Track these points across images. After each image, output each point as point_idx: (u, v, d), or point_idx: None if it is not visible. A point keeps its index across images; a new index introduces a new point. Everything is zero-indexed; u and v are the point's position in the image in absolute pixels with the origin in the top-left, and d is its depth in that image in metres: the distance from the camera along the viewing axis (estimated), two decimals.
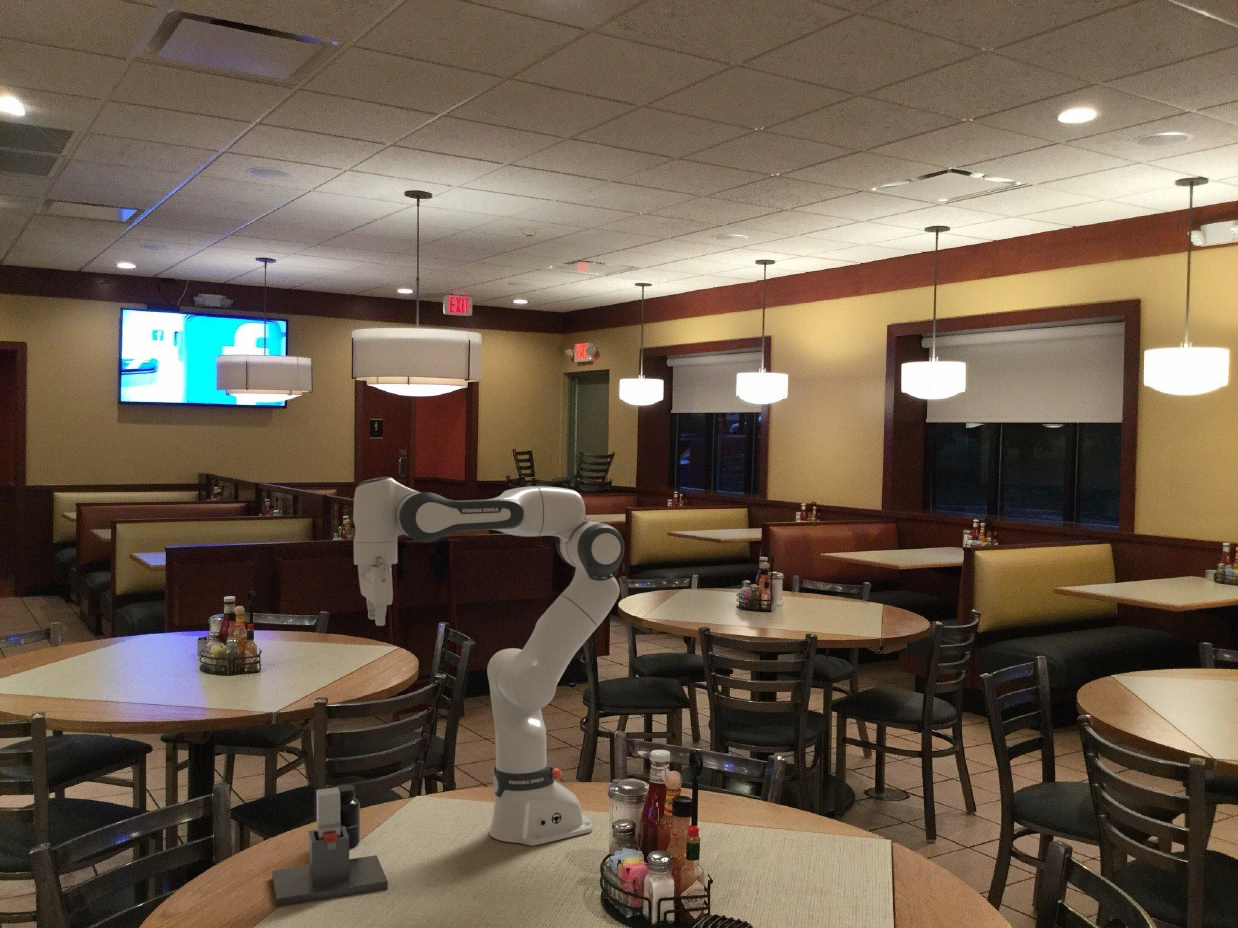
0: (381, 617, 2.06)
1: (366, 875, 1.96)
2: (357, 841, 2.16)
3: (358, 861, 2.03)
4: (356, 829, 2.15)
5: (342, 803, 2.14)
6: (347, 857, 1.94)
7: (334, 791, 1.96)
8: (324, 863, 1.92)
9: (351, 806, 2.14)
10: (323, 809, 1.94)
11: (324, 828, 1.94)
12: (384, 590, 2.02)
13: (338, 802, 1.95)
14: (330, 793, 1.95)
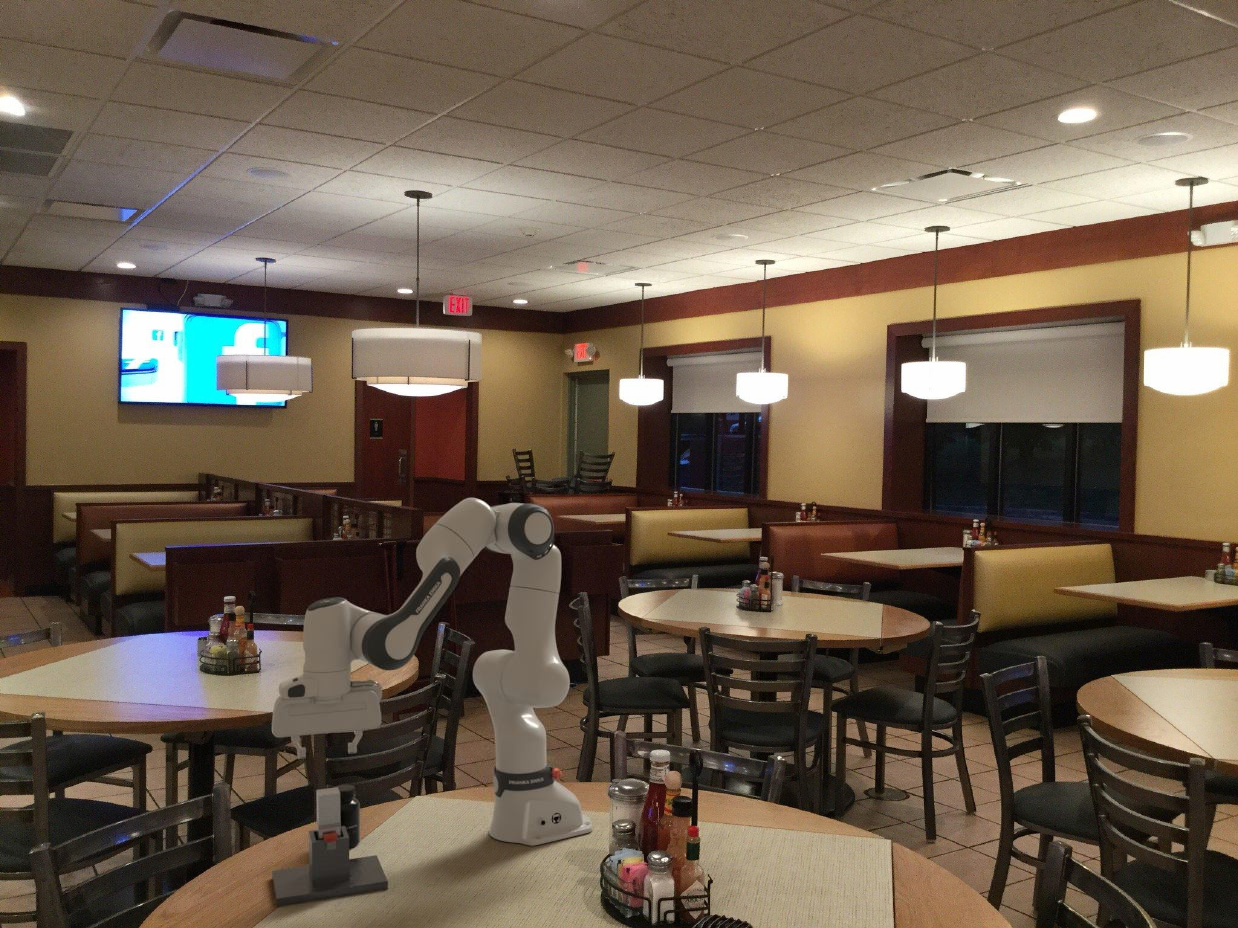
0: None
1: (366, 875, 1.96)
2: (357, 841, 2.16)
3: (358, 861, 2.03)
4: (356, 829, 2.15)
5: (342, 803, 2.14)
6: (347, 857, 1.94)
7: (334, 791, 1.96)
8: (324, 863, 1.92)
9: (351, 806, 2.14)
10: (323, 809, 1.94)
11: (324, 828, 1.94)
12: None
13: (338, 802, 1.95)
14: (330, 793, 1.95)
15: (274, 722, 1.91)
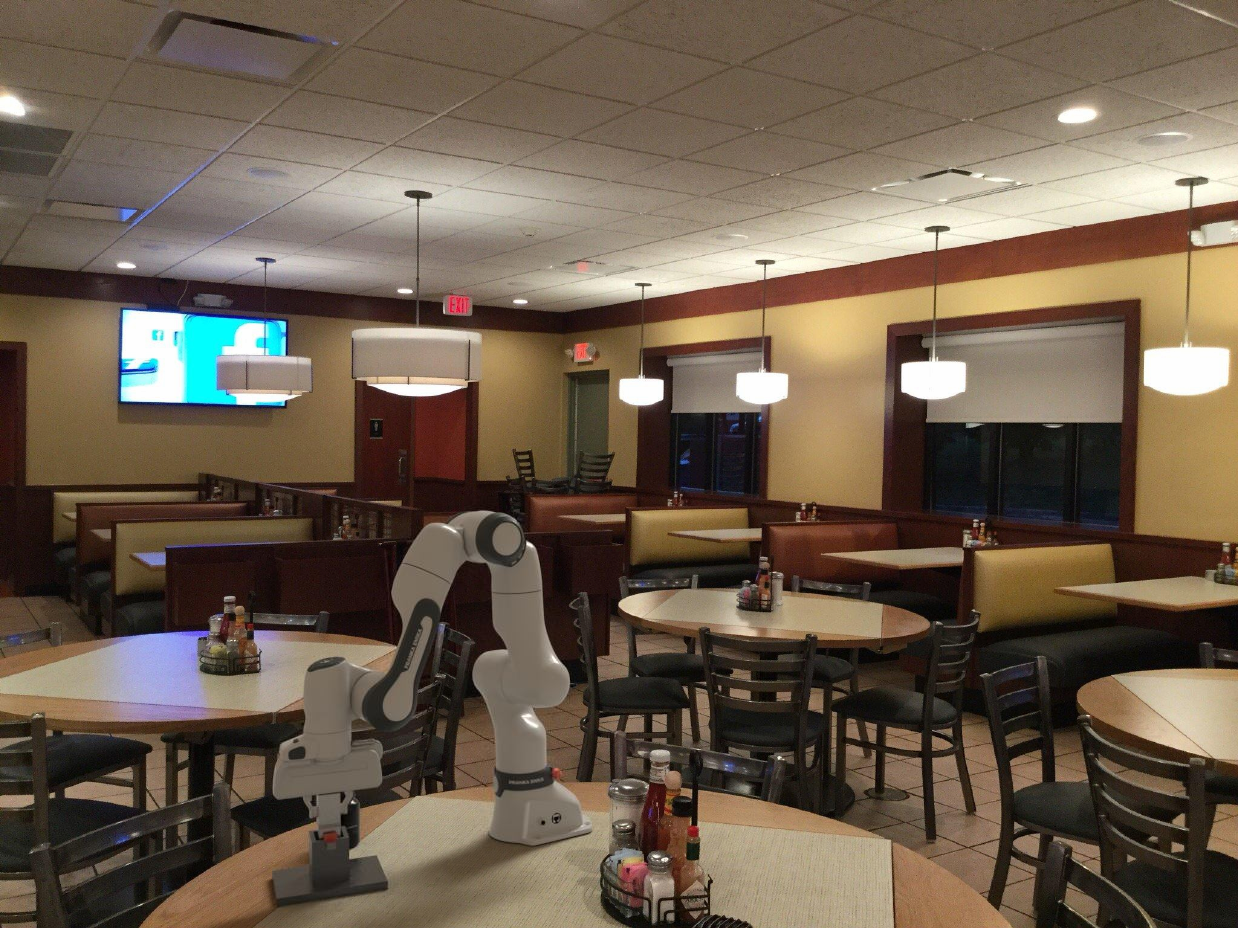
0: None
1: (366, 875, 1.96)
2: (357, 841, 2.16)
3: (358, 861, 2.03)
4: (356, 829, 2.15)
5: None
6: (347, 857, 1.94)
7: None
8: (324, 863, 1.92)
9: (351, 806, 2.14)
10: (323, 809, 1.94)
11: (324, 828, 1.94)
12: None
13: (338, 802, 1.95)
14: (330, 793, 1.95)
15: (275, 784, 1.91)
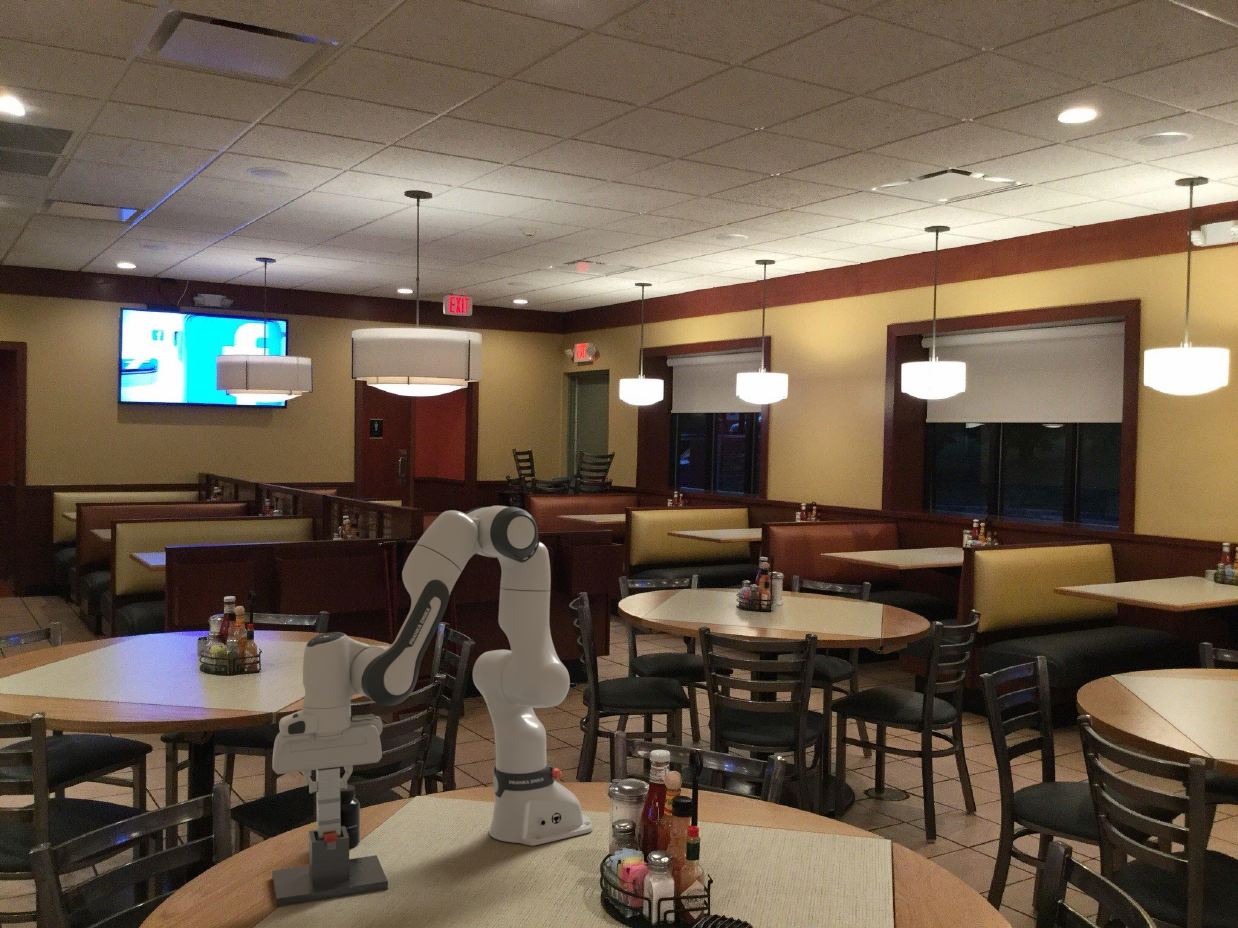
0: None
1: (366, 875, 1.96)
2: (357, 841, 2.16)
3: (358, 861, 2.03)
4: (356, 829, 2.15)
5: (342, 803, 2.14)
6: (347, 857, 1.94)
7: None
8: (324, 863, 1.92)
9: (351, 806, 2.14)
10: (323, 784, 1.94)
11: (324, 803, 1.94)
12: None
13: (338, 777, 1.95)
14: (330, 768, 1.95)
15: (275, 759, 1.91)
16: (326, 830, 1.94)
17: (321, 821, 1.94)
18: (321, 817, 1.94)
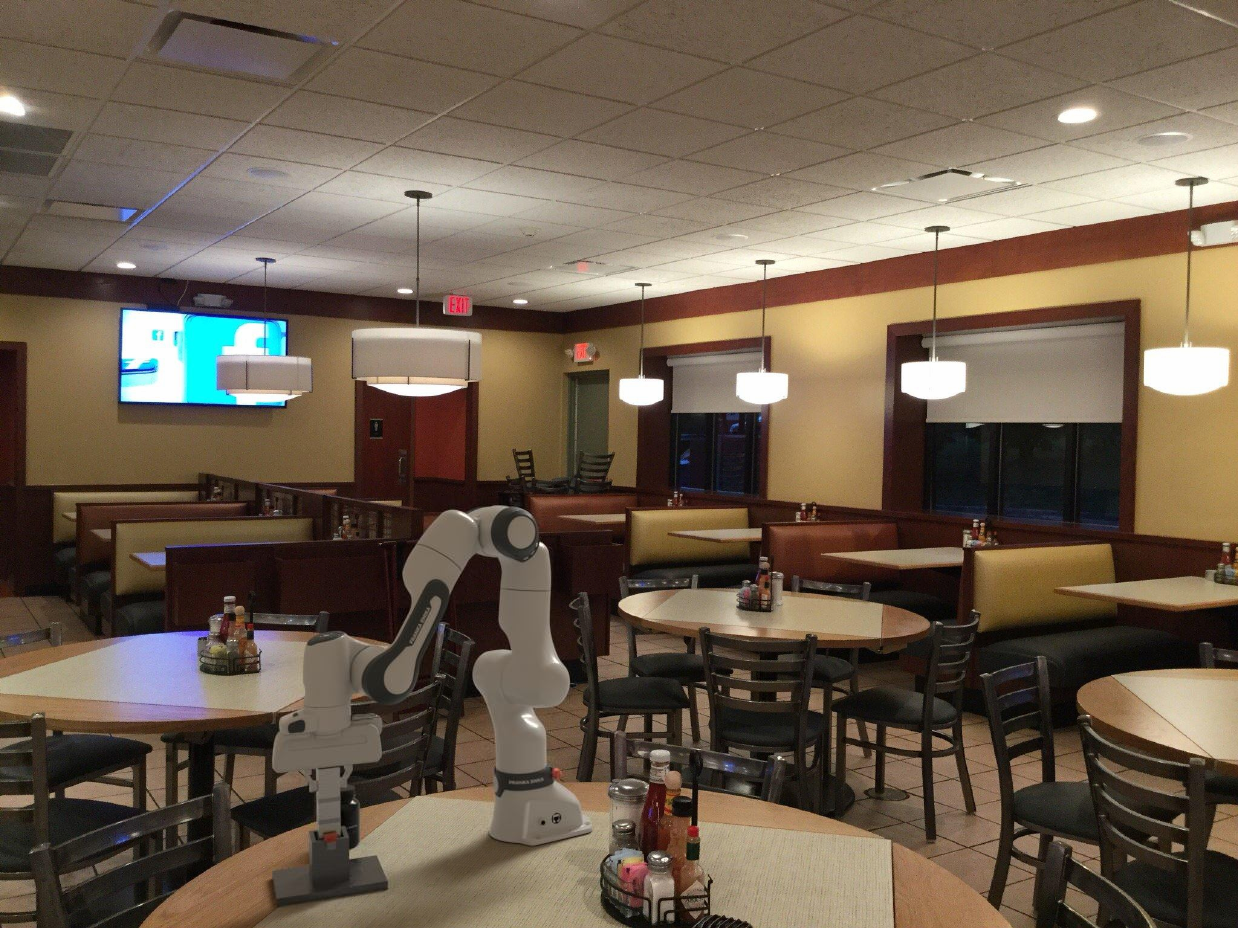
0: None
1: (366, 875, 1.96)
2: (357, 841, 2.16)
3: (358, 861, 2.03)
4: (356, 829, 2.15)
5: (342, 803, 2.14)
6: (347, 857, 1.94)
7: None
8: (324, 863, 1.92)
9: (351, 806, 2.14)
10: (323, 783, 1.94)
11: (324, 802, 1.94)
12: None
13: (338, 776, 1.95)
14: (330, 767, 1.95)
15: (274, 758, 1.91)
16: (326, 829, 1.94)
17: (321, 820, 1.94)
18: (321, 816, 1.94)
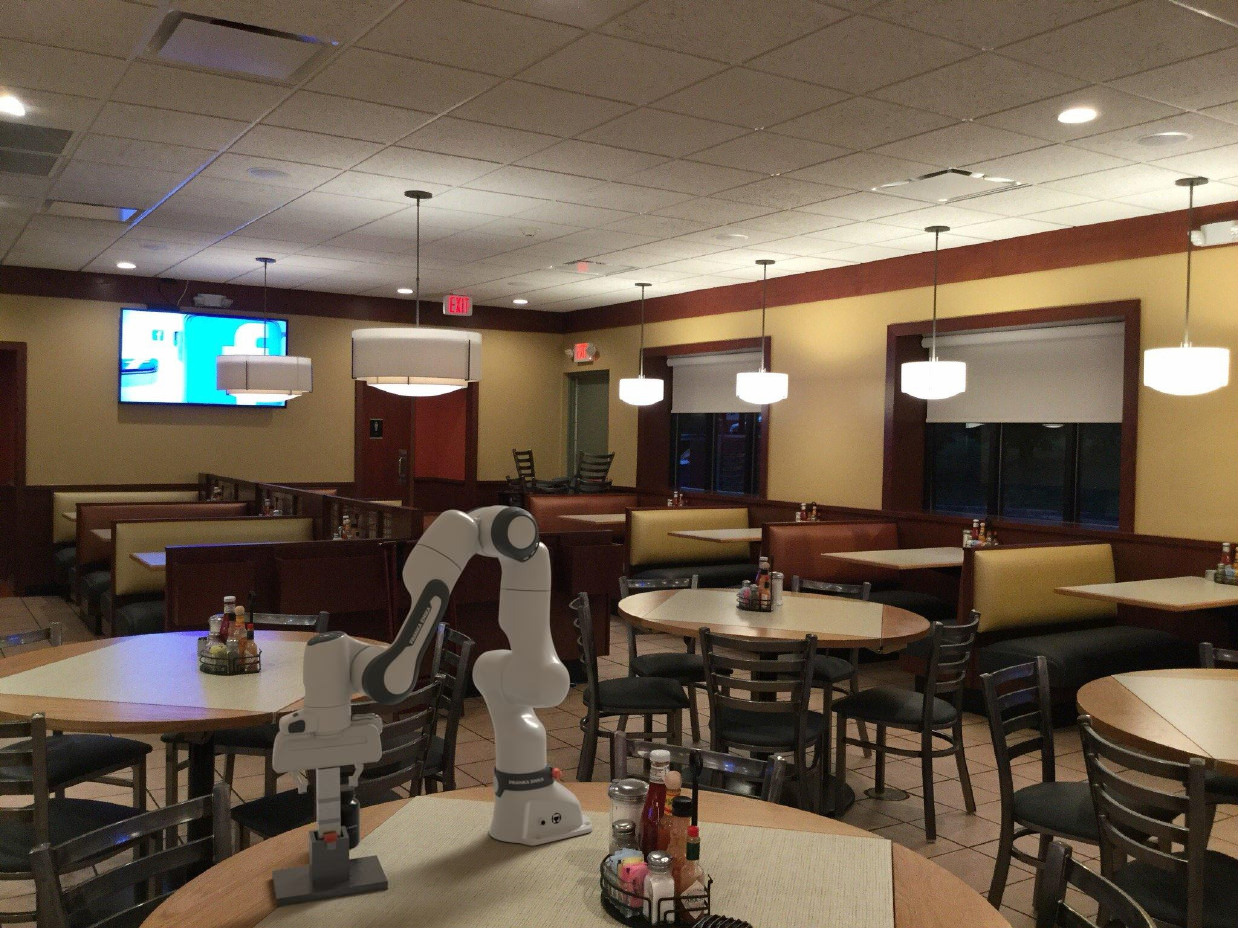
0: None
1: (366, 875, 1.96)
2: (357, 841, 2.16)
3: (358, 861, 2.03)
4: (356, 829, 2.15)
5: (342, 803, 2.14)
6: (347, 857, 1.94)
7: None
8: (324, 863, 1.92)
9: (351, 806, 2.14)
10: (323, 783, 1.94)
11: (324, 802, 1.94)
12: None
13: (338, 776, 1.95)
14: (330, 767, 1.95)
15: (275, 758, 1.91)
16: (326, 829, 1.94)
17: (321, 820, 1.94)
18: (321, 816, 1.94)
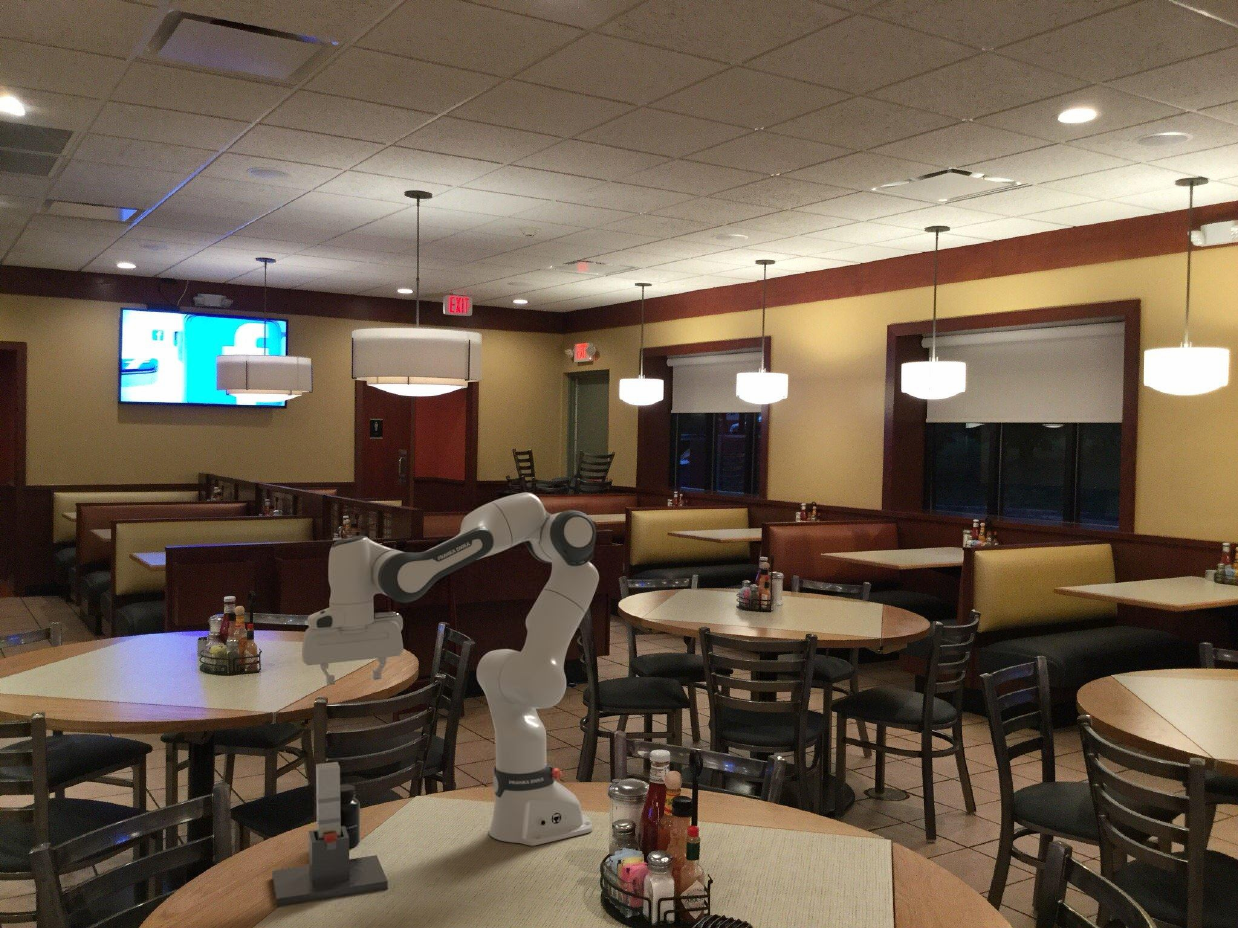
0: None
1: (366, 875, 1.96)
2: (357, 841, 2.16)
3: (358, 861, 2.03)
4: (356, 829, 2.15)
5: (342, 803, 2.14)
6: (347, 857, 1.94)
7: (334, 766, 1.96)
8: (324, 863, 1.92)
9: (351, 806, 2.14)
10: (323, 783, 1.94)
11: (324, 802, 1.94)
12: None
13: (338, 776, 1.95)
14: (330, 767, 1.95)
15: (305, 651, 2.05)
16: (326, 829, 1.94)
17: (321, 820, 1.94)
18: (321, 816, 1.94)
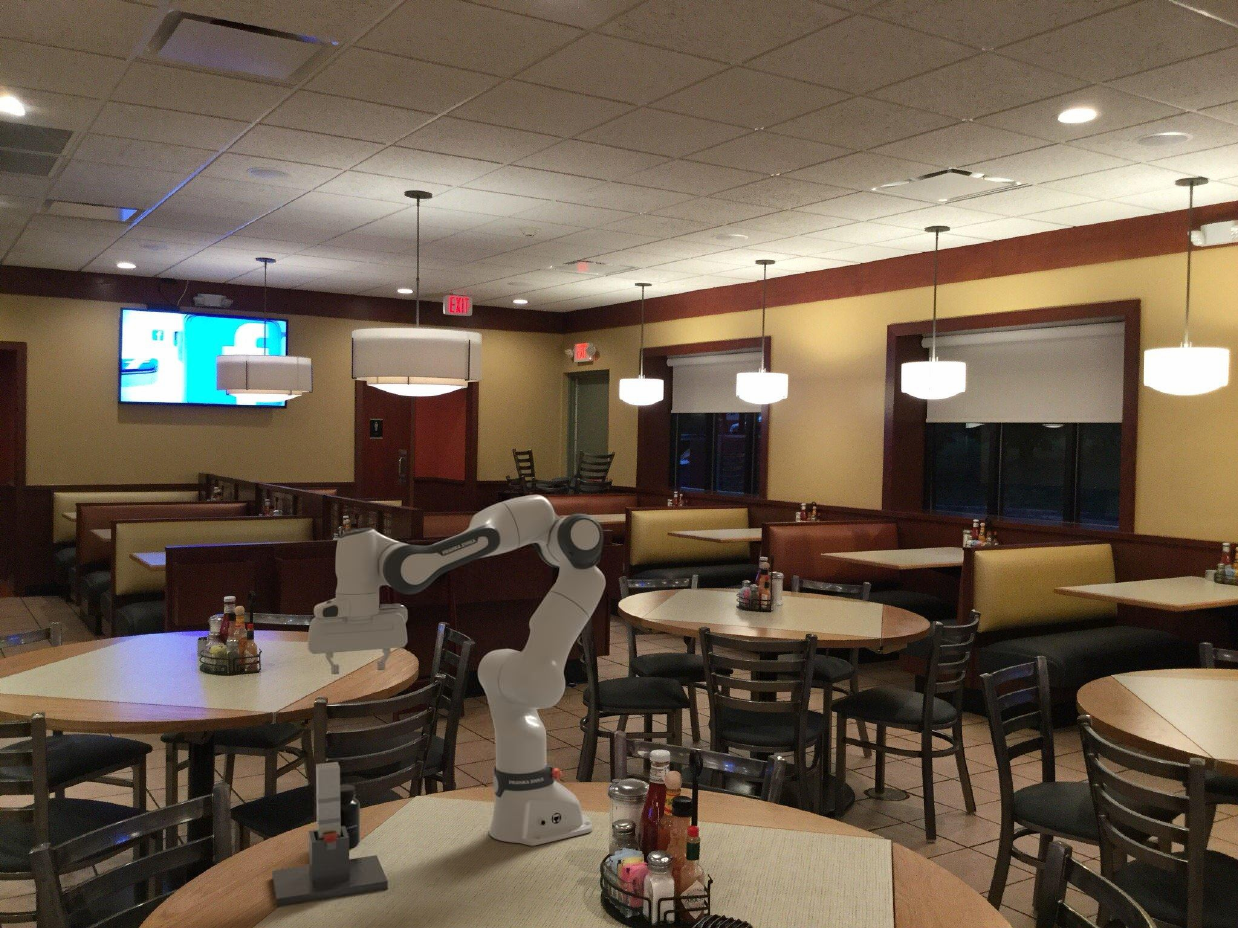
0: None
1: (366, 875, 1.96)
2: (357, 841, 2.16)
3: (358, 861, 2.03)
4: (356, 829, 2.15)
5: (342, 803, 2.14)
6: (347, 857, 1.94)
7: (334, 766, 1.96)
8: (324, 863, 1.92)
9: (351, 806, 2.14)
10: (323, 783, 1.94)
11: (324, 802, 1.94)
12: None
13: (338, 776, 1.95)
14: (330, 767, 1.95)
15: (310, 640, 2.08)
16: (326, 829, 1.94)
17: (321, 820, 1.94)
18: (321, 816, 1.94)
